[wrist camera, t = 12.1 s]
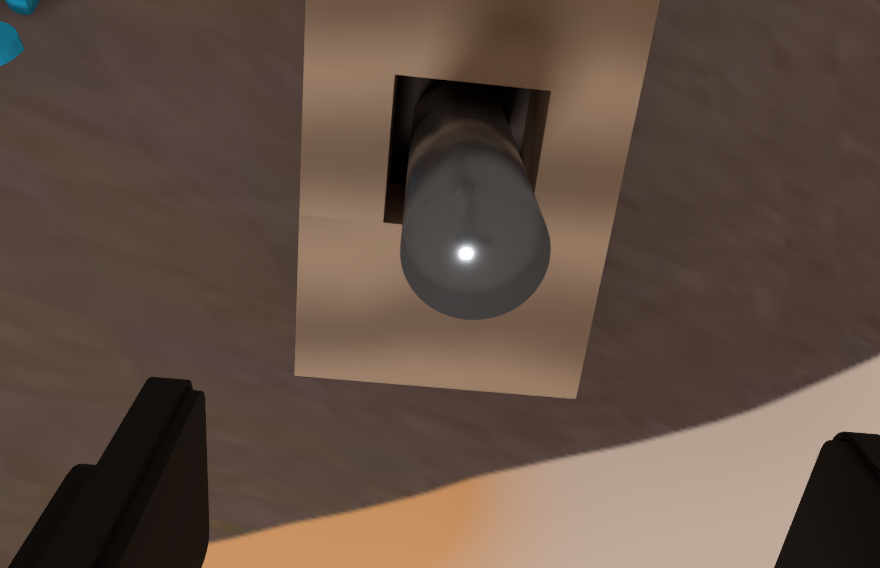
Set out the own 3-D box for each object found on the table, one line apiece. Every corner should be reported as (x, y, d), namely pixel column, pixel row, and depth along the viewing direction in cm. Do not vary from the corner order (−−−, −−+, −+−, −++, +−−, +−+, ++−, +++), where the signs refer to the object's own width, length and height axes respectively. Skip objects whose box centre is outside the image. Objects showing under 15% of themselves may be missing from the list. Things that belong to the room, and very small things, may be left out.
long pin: (416, 74, 32) (406, 173, 20) (511, 84, 33) (562, 188, 20) (407, 167, 34) (394, 313, 21) (498, 175, 34) (537, 326, 22)
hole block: (329, -156, 29) (310, -171, 24) (647, -118, 29) (686, -125, 25) (311, 320, 37) (294, 375, 33) (558, 341, 38) (575, 398, 33)
